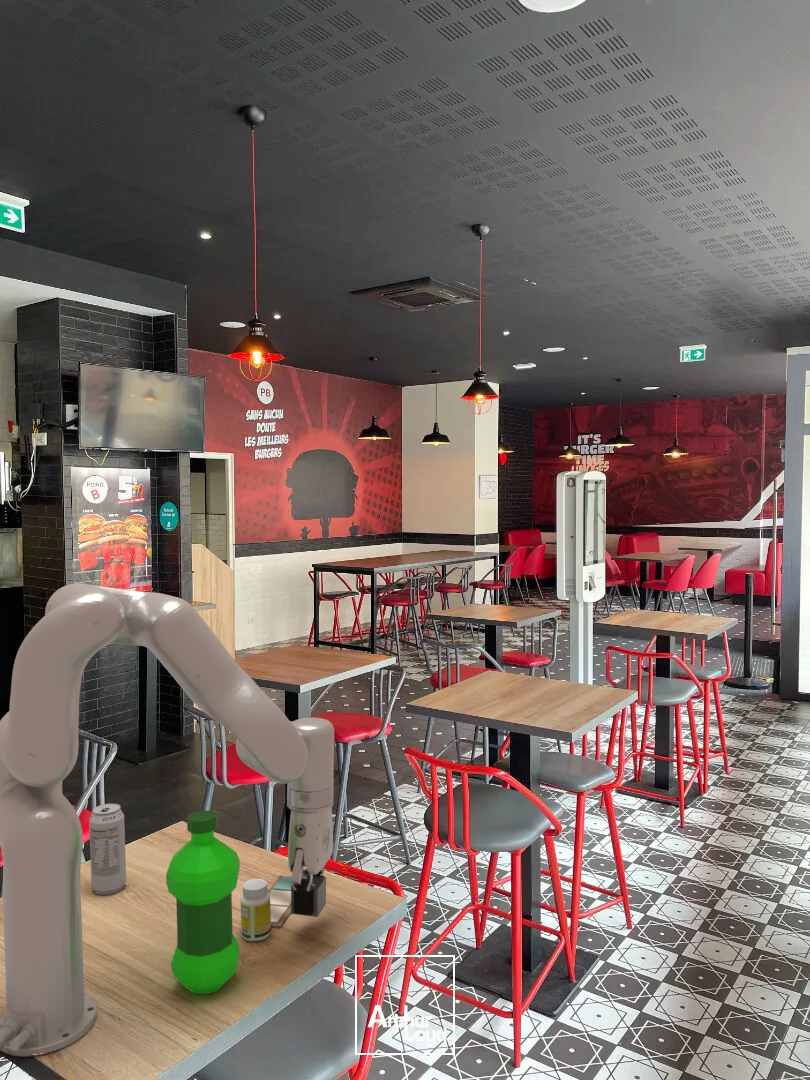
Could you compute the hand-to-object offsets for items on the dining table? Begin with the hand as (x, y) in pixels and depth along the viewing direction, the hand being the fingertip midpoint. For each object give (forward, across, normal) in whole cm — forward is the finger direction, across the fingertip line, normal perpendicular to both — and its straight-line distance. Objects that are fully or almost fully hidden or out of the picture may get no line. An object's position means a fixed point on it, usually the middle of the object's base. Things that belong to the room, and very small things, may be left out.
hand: (308, 904), depth 131 cm
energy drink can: (+6, +8, +41) cm, 42 cm away
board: (+4, +9, +8) cm, 13 cm away
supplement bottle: (+5, -2, +8) cm, 10 cm away
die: (+1, 0, 0) cm, 1 cm away
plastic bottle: (+5, -16, +10) cm, 20 cm away
